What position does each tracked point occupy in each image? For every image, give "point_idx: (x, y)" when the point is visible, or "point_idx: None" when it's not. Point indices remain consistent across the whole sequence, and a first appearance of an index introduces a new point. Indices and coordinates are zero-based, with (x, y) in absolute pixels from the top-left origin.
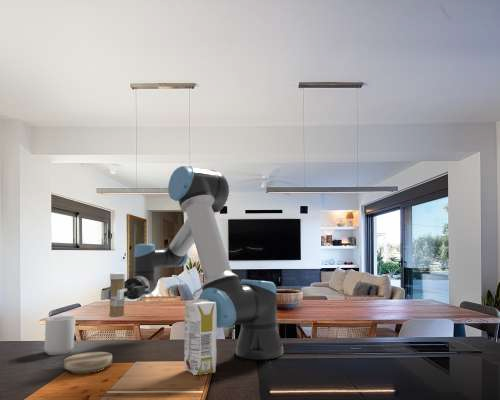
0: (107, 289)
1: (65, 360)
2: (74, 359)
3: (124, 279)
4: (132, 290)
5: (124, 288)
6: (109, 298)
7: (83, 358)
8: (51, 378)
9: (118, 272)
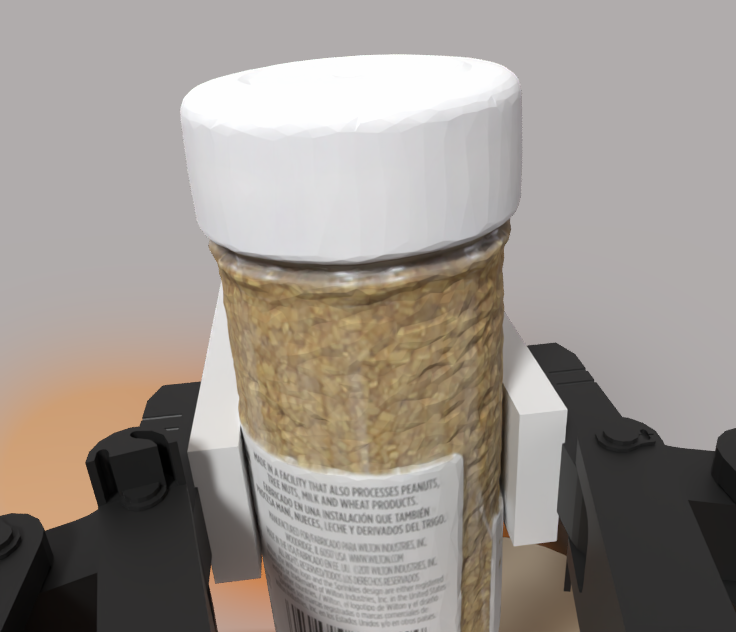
0: (522, 349)
1: None
2: (553, 603)
3: (223, 259)
4: (92, 535)
5: (243, 424)
6: (566, 569)
7: (510, 629)
8: (557, 533)
9: (384, 83)
